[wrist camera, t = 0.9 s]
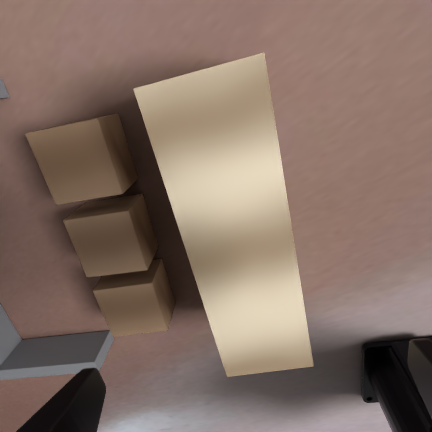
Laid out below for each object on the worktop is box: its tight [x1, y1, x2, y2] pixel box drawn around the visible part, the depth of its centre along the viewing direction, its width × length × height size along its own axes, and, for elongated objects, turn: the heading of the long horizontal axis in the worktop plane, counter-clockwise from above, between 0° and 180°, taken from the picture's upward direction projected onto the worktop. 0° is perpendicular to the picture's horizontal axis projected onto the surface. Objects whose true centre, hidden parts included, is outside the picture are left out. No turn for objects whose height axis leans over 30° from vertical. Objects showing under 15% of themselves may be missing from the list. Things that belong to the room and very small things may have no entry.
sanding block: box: [134, 53, 314, 377], centre depth 17 cm, size 16×5×6 cm, turn 14°
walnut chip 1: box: [25, 114, 138, 205], centre depth 17 cm, size 4×4×3 cm
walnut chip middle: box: [63, 194, 158, 277], centre depth 19 cm, size 4×4×3 cm
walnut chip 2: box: [93, 259, 175, 337], centre depth 21 cm, size 4×4×3 cm
